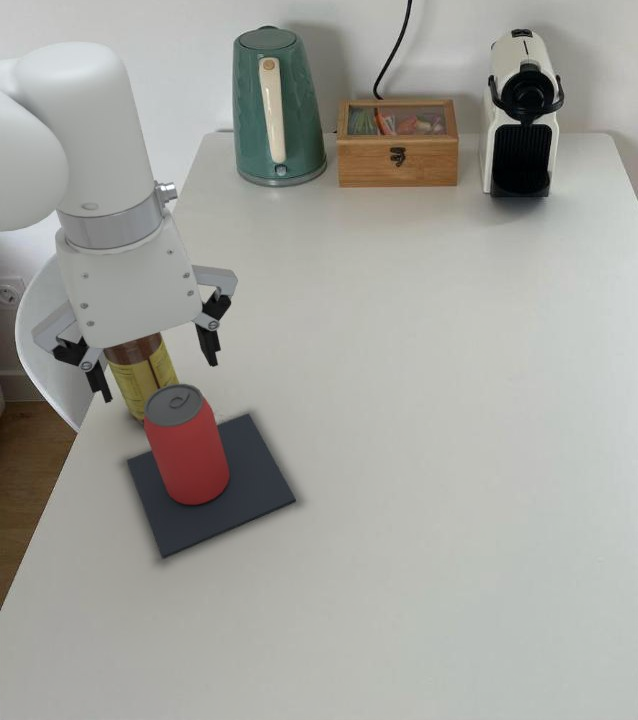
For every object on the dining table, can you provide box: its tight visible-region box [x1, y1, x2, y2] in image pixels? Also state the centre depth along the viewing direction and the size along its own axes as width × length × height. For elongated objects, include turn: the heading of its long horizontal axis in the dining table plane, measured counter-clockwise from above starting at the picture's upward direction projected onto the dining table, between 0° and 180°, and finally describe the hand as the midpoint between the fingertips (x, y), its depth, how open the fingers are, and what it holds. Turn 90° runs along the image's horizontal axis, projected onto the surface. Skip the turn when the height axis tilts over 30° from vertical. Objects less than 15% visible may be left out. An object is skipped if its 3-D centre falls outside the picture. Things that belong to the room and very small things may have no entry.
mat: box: [126, 412, 297, 559], centre depth 86 cm, size 14×14×1 cm
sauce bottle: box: [102, 332, 181, 426], centre depth 87 cm, size 6×6×20 cm
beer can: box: [143, 383, 230, 505], centre depth 81 cm, size 7×7×12 cm
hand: (159, 374), depth 74 cm, fingers open, 9 cm apart
